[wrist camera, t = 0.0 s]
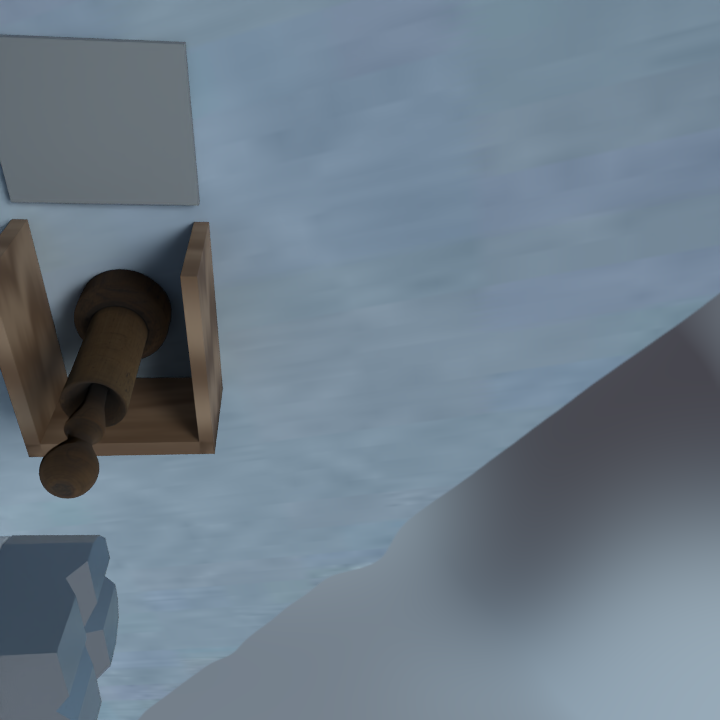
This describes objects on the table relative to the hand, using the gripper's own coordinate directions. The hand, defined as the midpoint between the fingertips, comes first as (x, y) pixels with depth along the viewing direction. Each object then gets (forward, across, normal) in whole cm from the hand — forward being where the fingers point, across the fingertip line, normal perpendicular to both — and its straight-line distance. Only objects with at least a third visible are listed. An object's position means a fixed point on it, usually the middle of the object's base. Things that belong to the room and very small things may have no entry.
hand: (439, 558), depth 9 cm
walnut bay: (+41, +14, +17) cm, 46 cm away
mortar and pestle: (+41, +14, +17) cm, 46 cm away
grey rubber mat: (+39, +14, +4) cm, 42 cm away
